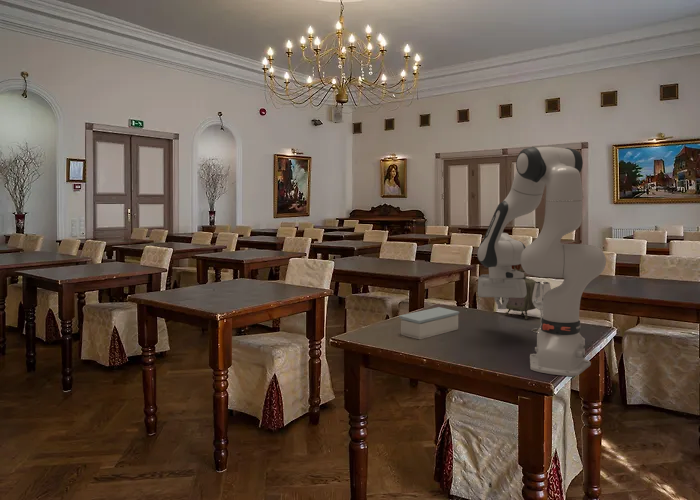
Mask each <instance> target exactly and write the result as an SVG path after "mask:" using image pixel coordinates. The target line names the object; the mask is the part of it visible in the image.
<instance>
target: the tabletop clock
mask: <svg viewBox="0 0 700 500" xmlns="http://www.w3.org/2000/svg"><path fill="white" fill-rule="evenodd" d="M516 266H517V265H513V270H516V271H519V272H523V273H524V278H522V279H524V280H525V283H526V289H527V295H526V296H525V297H524V298H509V301H508V303H507V304H506V309H507V311H506V312H504V315H505V316H509V313H510V312H511V311H513V312H521V314H520V316H521V317H524V319H525V320H529V316H528V311H532V310H535V309H536V310H537V308H535V307H534V305H533V303H532V294H533V289H534V286H535V282H537V281H536V280H535V279H532V278H528V277H527V276H526V272H525V271H524V270H523V268H519V269H517V268H516ZM503 302H504V300H503V297H501V304H503ZM506 309H505V310H506Z"/></svg>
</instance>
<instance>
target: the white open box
mask: <svg viewBox="0 0 700 500" xmlns="http://www.w3.org/2000/svg"><path fill="white" fill-rule="evenodd" d="M456 330H459V314H457V315H453V316H449V317H445V318H440V319H436V320H432V321H428V322H424V323H415V322H411V321H408V320H404V319H400V335H401V336H405V337H409V338H413V339H417V340H423V339H427V338H430V337H434V336H437V335H441V334H445V333H450V332H452V331H453V332H454V331H456Z"/></svg>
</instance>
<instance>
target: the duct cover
mask: <svg viewBox="0 0 700 500" xmlns="http://www.w3.org/2000/svg"><path fill="white" fill-rule="evenodd" d="M459 314H460V311H458V310H453V309H449V308H445V307H441V306H438V307H433V308H429V309H424V310H423V309H422V310H420V311H414V312H410V313H406V314H405V313H404V314H402V315H398V318H399V319H400V320H403V319H404V320H408V321H411V322H415V323H424V322H428V321H432V320H436V319H440V318H445V317H449V316H453V315H459Z"/></svg>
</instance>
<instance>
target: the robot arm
mask: <svg viewBox="0 0 700 500" xmlns="http://www.w3.org/2000/svg"><path fill="white" fill-rule="evenodd" d="M583 164H584V163H583V156H582V154H581V153H580V152H579V151H578V150H577V149H574V148H569V147H566V148H563V147H557V146H555V147H553V146H537V147H536V146H531V147H526V148H524V149H522V150H520V152H519V153H518V155H517V158H516V161H515V168H516V172H515V175H514V178H513V180H512V185H511V187H510V191H509V192H508V194H507V196H506V197H505V198H504V200H503V201H501V202H500V203H499V204H498V205H497V207H496V208H495V211H494V214H493V216H492V218H491V221H490V223H489V224H488V227H487V230H486V233H485V234H484V237H483V239H482V240H481V243H480V244H479V246H478V248H477V253H476V257H477V260H478V262H479V263H480V264H481V265H482V266H483V267H485V268H488V273H487V274H484V273H483V274H480V275H479V276H478V278H477V283H478V284H477V296H478V297H479V298H494V302H495V303H496V305H497V309H498V310H506V304H507V303H508V301H509V298H524V297H525V296H526V295H527V289H526V283H525V280H524V279H522V278H524V274H527V275H530V276H534V277H540V278H563V282H562V283H561V284H560V285H558V286H555V287H553V288H551V290H549V291H548V292H546V294H545V295H544V297H543V317H542V319H541V318H540V325H541V331H540V332H539V333H536V346H535V347H534V349H533V350H534V351H535V352H536V353H530V354H529V366H530V370H531V371H534V372H537V373H543V374H548V375H554V376H555V375H557V376H564V377H565V376H566V377H578V376H579V375H580V374H582V373H583V372H584V371H586V370H587V369H588V368H589V367H591V365H592V363H591V361H590V360H588V359H586V339H585V337H583V335H581V333H580V332H581V328H582V327H581V326H582V324H581V320H580V307H581V300H582V295H583V292H584V291H585V289H586V287H587V286H588V285H589V283H591V282H592V281H593V280H594V279H596V278H598V277H599V276H600V275H601V274H602V273H603V272H604V270H605V268H606V264H607V258H606V255H605V252H604V251H603V250H602V248H601V247H599V246H596V245H591V244H585V243H562V242H561V240H562V239H563V237H564V236H566V235H568V234H571V233H573V232H574V231H576V230H577V229H579V228H580V226H581V225H582V223H583V203H584V202H583V199H584V198H583V183H582V178H581V174H580V173H581V172H582V169H583ZM545 190H546V191H545ZM544 191H545V206H544V207H545V209H544V220H543V225H542V229H541V231H540V233H539V234H538V236H537V237H536V238H535V239H534V240H533V241H532V242H531V243H530V244H528V245H527V246H526V245H525V244H524V243H523V242H522V240H517V239H515V238H512V237H511V236H510V234H509V233H507V232H504V229H505V228H506V226H507V224H509V223H510V222H511V221H513V220H515V219H517V218H520V217H522V216H525V215H528V214H531V213H533V212H534V211H535V210H536V209H538V207H539V205H540V204H541V202H542V198H543V194H544ZM514 265H516V266H519V265H520V266H521V269H522V271H525V272H519V271H516V270H515V269H514V268H512V266H514ZM502 297H503V300H504V302H503V304H502V302H501V298H502Z"/></svg>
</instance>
